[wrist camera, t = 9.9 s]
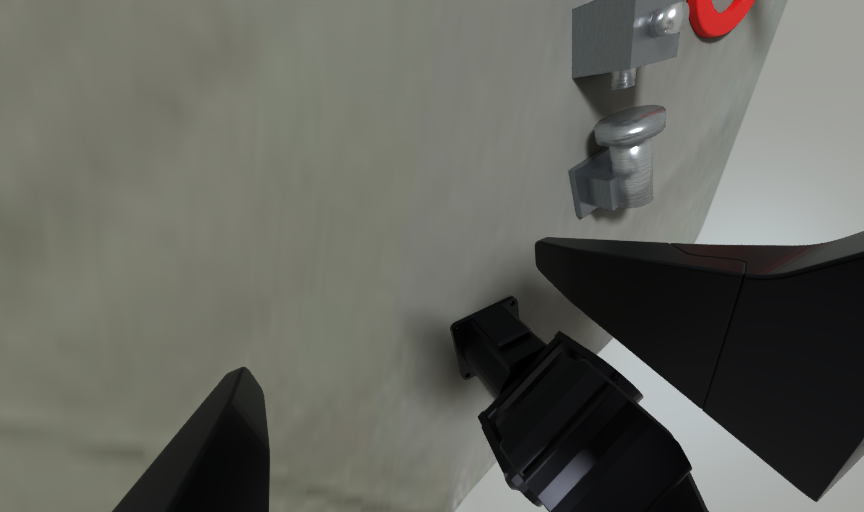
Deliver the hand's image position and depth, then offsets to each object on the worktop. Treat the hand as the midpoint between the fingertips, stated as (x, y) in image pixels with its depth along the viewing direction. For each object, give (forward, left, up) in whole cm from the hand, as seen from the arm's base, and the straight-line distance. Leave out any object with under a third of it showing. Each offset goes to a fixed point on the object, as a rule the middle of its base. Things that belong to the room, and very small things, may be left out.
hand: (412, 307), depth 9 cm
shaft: (-2, -21, -12) cm, 24 cm away
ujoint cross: (+6, -20, -12) cm, 24 cm away
